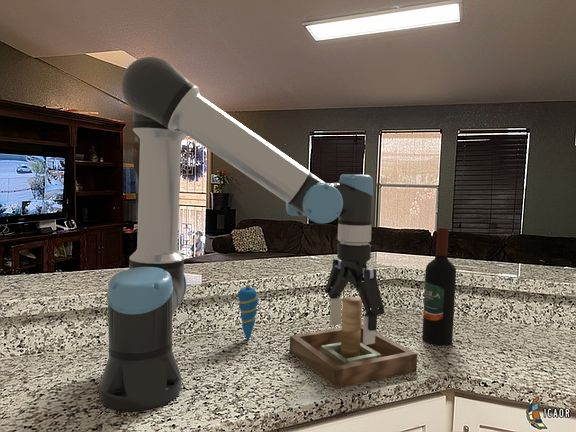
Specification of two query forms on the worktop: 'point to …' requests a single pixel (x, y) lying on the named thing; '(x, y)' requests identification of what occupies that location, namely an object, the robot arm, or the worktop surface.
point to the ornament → (248, 309)
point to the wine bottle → (439, 295)
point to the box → (347, 372)
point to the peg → (351, 327)
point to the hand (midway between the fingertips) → (351, 333)
